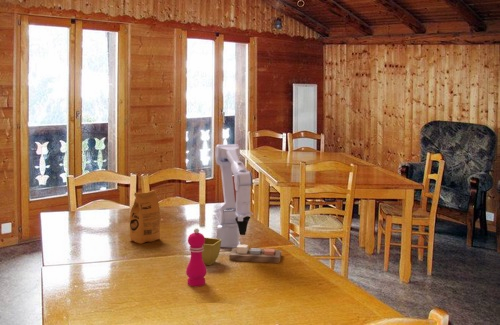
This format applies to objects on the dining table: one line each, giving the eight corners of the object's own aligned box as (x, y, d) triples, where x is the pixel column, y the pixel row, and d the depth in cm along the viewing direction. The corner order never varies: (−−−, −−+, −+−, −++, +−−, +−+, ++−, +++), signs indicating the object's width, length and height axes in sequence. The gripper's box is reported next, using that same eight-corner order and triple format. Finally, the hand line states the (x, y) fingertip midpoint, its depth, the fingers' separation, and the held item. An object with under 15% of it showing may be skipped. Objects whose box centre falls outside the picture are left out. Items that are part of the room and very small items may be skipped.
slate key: (250, 257, 243) (250, 250, 243) (251, 254, 247) (251, 247, 247) (260, 258, 243) (260, 251, 242) (261, 255, 247) (261, 248, 246)
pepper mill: (186, 280, 217) (186, 226, 214) (206, 280, 218) (206, 225, 215) (185, 287, 210) (185, 231, 207) (206, 286, 210) (206, 231, 208)
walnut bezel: (229, 260, 241) (229, 254, 241) (233, 252, 251) (233, 247, 251) (279, 262, 239) (279, 257, 238) (281, 255, 249) (281, 250, 248)
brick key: (263, 258, 242) (263, 251, 242) (264, 255, 246) (264, 248, 246) (273, 259, 242) (273, 251, 242) (274, 256, 246) (274, 249, 245)
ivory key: (236, 254, 244) (236, 247, 243) (238, 251, 248) (238, 244, 247) (246, 254, 243) (246, 247, 243) (247, 251, 247) (247, 244, 247)
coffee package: (126, 240, 269) (126, 191, 265) (150, 235, 277) (149, 188, 274) (139, 244, 261) (138, 194, 258) (162, 239, 270) (162, 191, 267)
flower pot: (221, 261, 240) (221, 239, 239) (213, 267, 232) (213, 244, 231) (201, 258, 243) (201, 236, 242) (192, 264, 235) (192, 242, 233)
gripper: (250, 205, 235) (250, 239, 237) (255, 198, 249) (254, 230, 251) (232, 205, 236) (232, 238, 238) (238, 197, 250) (237, 229, 252)
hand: (242, 234), depth 244 cm, fingers closed
